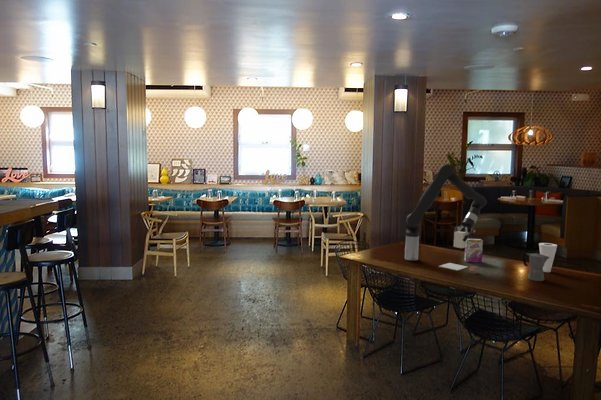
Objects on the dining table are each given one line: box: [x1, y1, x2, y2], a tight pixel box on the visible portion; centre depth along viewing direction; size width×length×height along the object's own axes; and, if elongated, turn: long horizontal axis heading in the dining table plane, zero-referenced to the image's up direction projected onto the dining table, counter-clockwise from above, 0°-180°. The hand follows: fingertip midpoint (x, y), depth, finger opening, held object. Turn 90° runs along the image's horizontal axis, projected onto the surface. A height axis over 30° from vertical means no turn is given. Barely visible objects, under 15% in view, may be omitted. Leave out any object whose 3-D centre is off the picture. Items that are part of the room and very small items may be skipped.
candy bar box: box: [464, 238, 484, 263], centre depth 320 cm, size 11×5×16 cm, turn 84°
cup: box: [538, 242, 558, 273], centre depth 295 cm, size 11×11×18 cm
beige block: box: [453, 231, 467, 249], centre depth 298 cm, size 6×6×10 cm
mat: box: [438, 262, 468, 272], centre depth 306 cm, size 14×14×1 cm
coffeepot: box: [521, 250, 549, 282], centre depth 277 cm, size 15×9×18 cm, turn 54°
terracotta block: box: [468, 265, 479, 275], centre depth 290 cm, size 4×4×4 cm
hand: (459, 240), depth 298 cm, fingers closed on beige block, 5 cm apart
